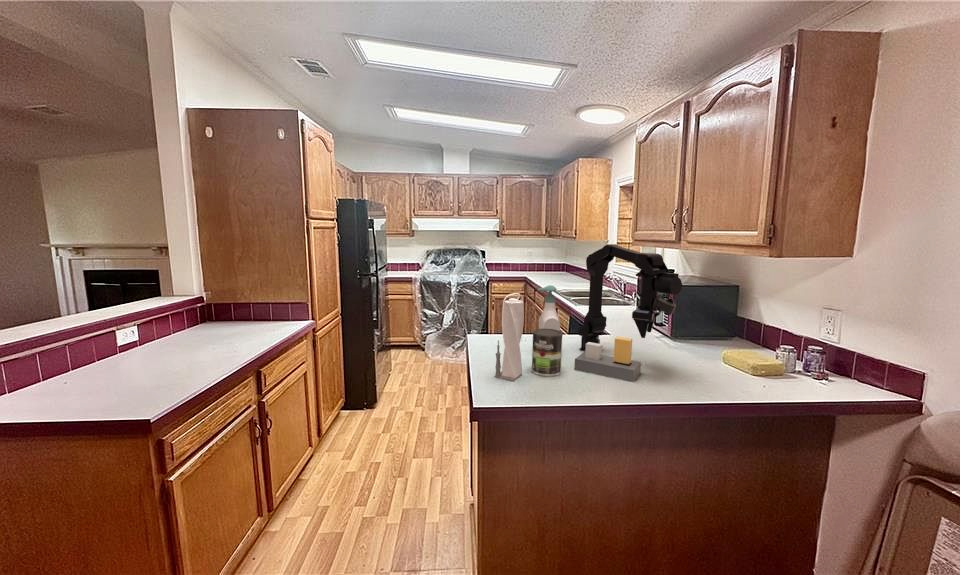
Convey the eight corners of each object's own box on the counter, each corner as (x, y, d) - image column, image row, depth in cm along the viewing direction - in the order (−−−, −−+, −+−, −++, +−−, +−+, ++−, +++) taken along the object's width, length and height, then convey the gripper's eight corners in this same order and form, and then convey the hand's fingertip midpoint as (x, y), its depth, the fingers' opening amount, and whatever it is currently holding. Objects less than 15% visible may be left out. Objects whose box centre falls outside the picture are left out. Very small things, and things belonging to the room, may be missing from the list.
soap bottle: (533, 348, 164) (535, 283, 160) (553, 348, 164) (555, 283, 160) (538, 357, 153) (539, 287, 149) (559, 357, 153) (561, 287, 149)
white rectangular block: (584, 365, 140) (585, 343, 139) (587, 363, 143) (588, 341, 142) (598, 368, 138) (599, 346, 137) (601, 365, 140) (602, 344, 139)
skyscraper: (505, 369, 139) (507, 291, 135) (526, 374, 135) (528, 293, 131) (494, 377, 132) (495, 295, 128) (516, 382, 128) (517, 297, 124)
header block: (574, 369, 139) (574, 358, 139) (584, 361, 147) (584, 351, 147) (633, 382, 128) (633, 370, 127) (640, 373, 136) (641, 361, 136)
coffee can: (556, 378, 131) (557, 337, 129) (527, 373, 136) (528, 333, 134) (564, 369, 140) (566, 330, 138) (537, 364, 145) (538, 327, 143)
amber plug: (613, 361, 134) (614, 338, 133) (616, 358, 137) (617, 336, 136) (628, 364, 132) (630, 341, 130) (631, 361, 134) (632, 338, 133)
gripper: (670, 296, 122) (666, 345, 124) (679, 289, 137) (676, 332, 139) (632, 293, 128) (630, 339, 130) (645, 286, 143) (642, 328, 146)
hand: (646, 334), depth 136 cm, fingers open, 9 cm apart
